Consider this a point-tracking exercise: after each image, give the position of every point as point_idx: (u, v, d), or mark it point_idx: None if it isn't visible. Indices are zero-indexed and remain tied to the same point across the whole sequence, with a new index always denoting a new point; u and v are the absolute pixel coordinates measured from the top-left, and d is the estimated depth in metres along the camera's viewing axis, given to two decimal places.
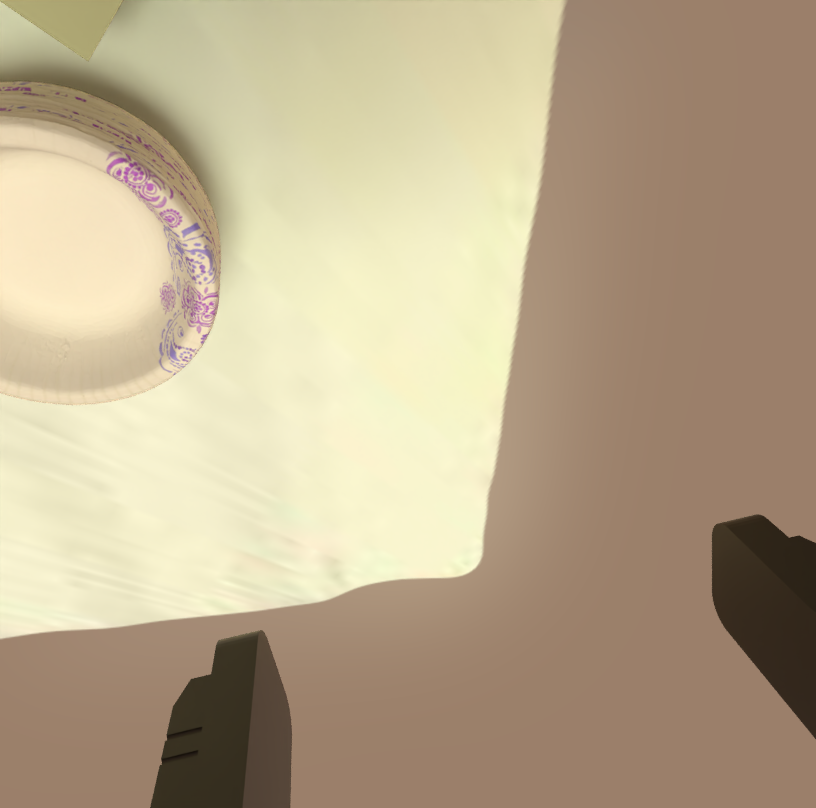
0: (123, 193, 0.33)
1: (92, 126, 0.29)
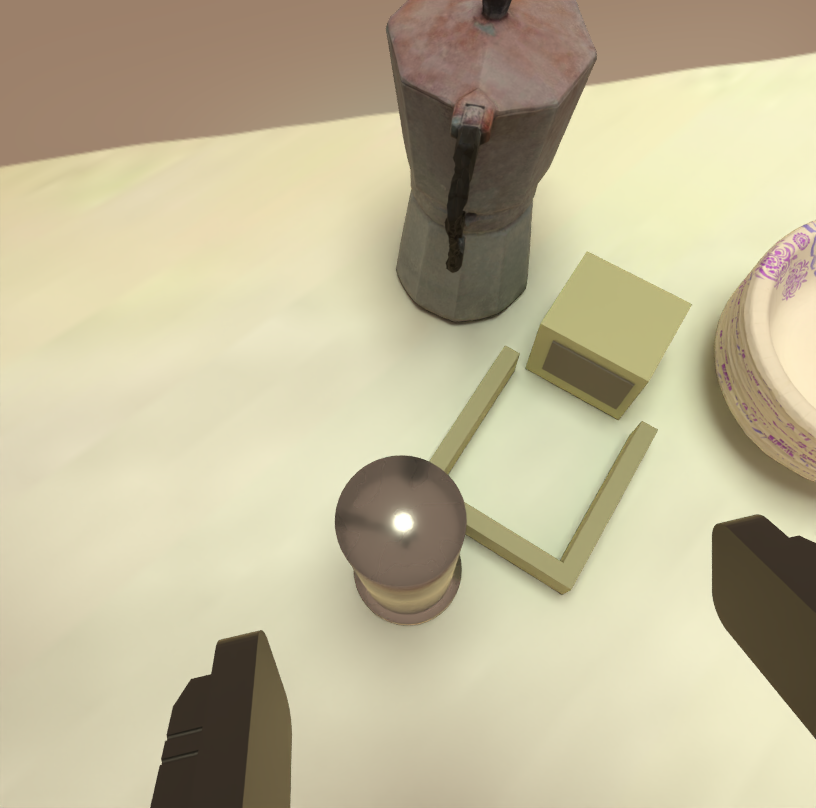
0: (790, 309, 0.40)
1: (739, 302, 0.38)
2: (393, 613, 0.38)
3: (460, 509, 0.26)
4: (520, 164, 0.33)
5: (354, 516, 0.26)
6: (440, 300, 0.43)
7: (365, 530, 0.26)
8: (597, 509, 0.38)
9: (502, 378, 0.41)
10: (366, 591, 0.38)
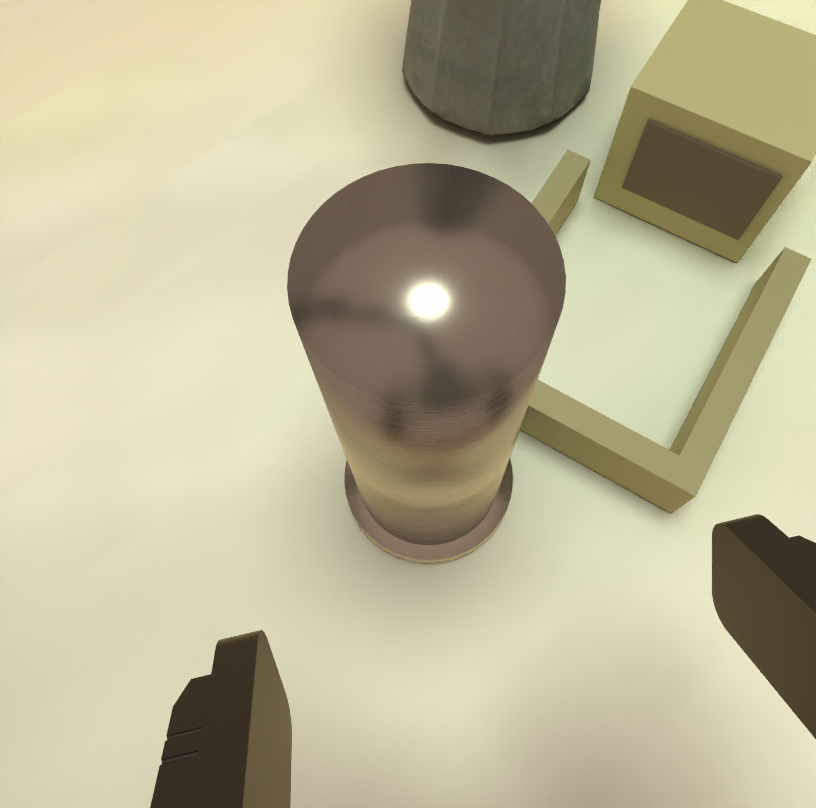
0: None
1: None
2: (407, 543, 0.24)
3: (550, 254, 0.13)
4: None
5: (329, 272, 0.13)
6: (468, 97, 0.29)
7: (352, 297, 0.12)
8: (726, 374, 0.24)
9: (566, 194, 0.27)
10: (364, 511, 0.24)
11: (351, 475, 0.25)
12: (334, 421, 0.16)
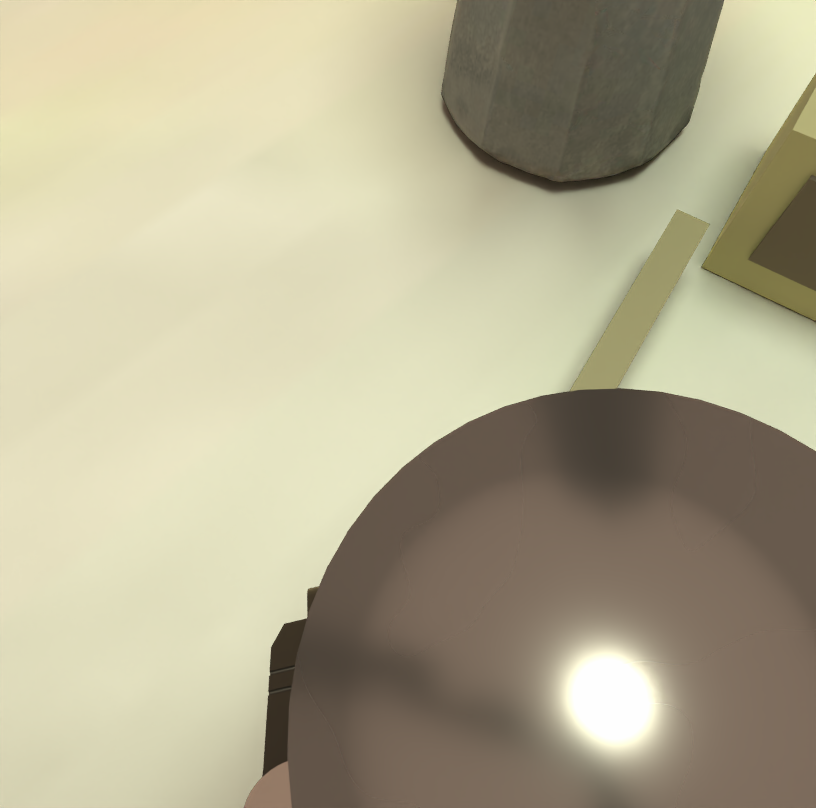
0: None
1: None
2: None
3: None
4: None
5: (395, 707, 0.05)
6: (535, 132, 0.22)
7: (459, 792, 0.05)
8: None
9: (679, 273, 0.19)
10: None
11: None
12: None
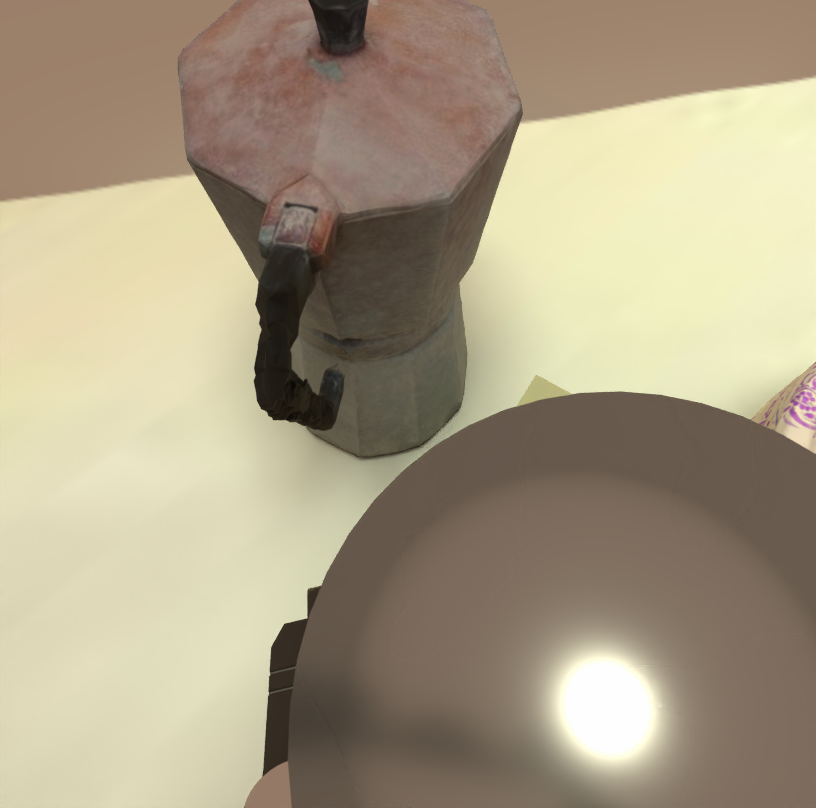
0: None
1: None
2: None
3: None
4: (409, 279, 0.20)
5: (395, 711, 0.05)
6: (338, 432, 0.31)
7: (459, 796, 0.05)
8: None
9: None
10: None
11: None
12: None
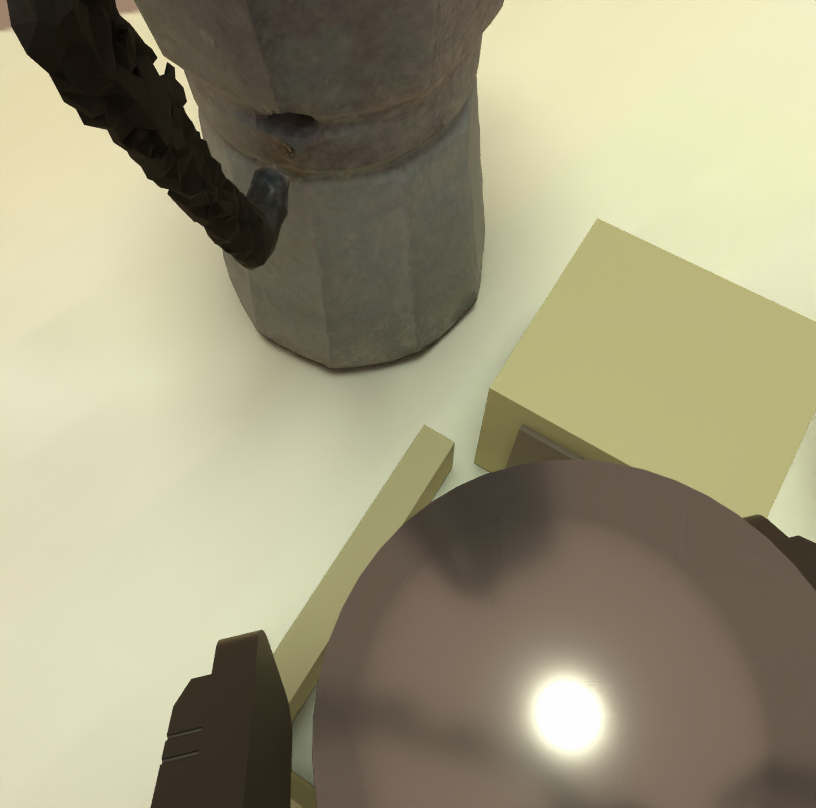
0: None
1: None
2: None
3: None
4: None
5: (396, 719, 0.06)
6: (298, 328, 0.21)
7: (447, 786, 0.06)
8: None
9: (415, 500, 0.19)
10: None
11: None
12: None
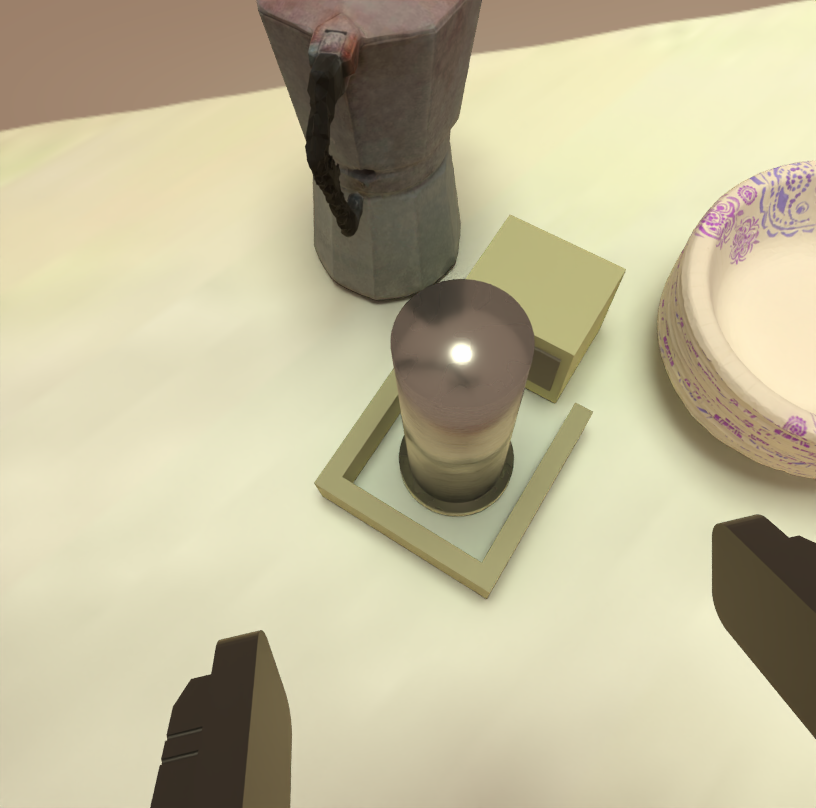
0: (741, 274, 0.36)
1: (679, 265, 0.34)
2: (442, 502, 0.35)
3: (527, 330, 0.24)
4: (409, 107, 0.29)
5: (412, 339, 0.24)
6: (358, 276, 0.39)
7: (424, 353, 0.24)
8: (522, 501, 0.34)
9: None
10: (413, 480, 0.36)
11: (403, 456, 0.36)
12: (407, 418, 0.27)
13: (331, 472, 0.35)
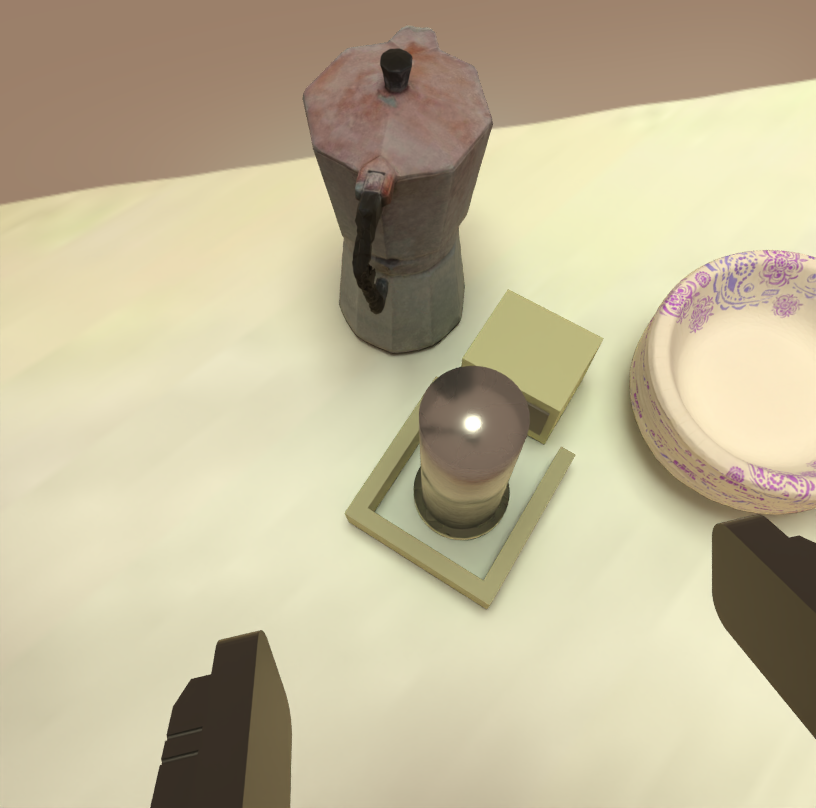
0: (699, 340, 0.43)
1: (647, 336, 0.41)
2: (450, 528, 0.43)
3: (524, 408, 0.31)
4: (430, 217, 0.36)
5: (435, 415, 0.31)
6: (378, 334, 0.46)
7: (445, 425, 0.31)
8: (516, 529, 0.41)
9: None
10: (425, 510, 0.43)
11: (417, 489, 0.44)
12: (427, 469, 0.34)
13: (358, 504, 0.42)
